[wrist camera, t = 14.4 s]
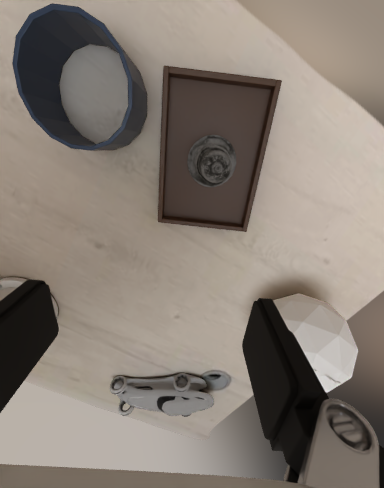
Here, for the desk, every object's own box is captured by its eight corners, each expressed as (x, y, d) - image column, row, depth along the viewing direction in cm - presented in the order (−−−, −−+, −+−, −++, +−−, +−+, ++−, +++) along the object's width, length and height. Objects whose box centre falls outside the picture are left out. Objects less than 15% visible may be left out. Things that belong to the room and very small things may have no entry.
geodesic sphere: (225, 355, 36) (302, 445, 26) (246, 291, 30) (357, 376, 20) (273, 324, 45) (345, 382, 35) (297, 269, 39) (392, 321, 29)
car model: (109, 374, 49) (100, 397, 44) (212, 371, 48) (213, 395, 43) (120, 401, 54) (113, 424, 49) (213, 399, 52) (215, 423, 48)
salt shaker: (212, 125, 26) (223, 109, 15) (240, 161, 28) (268, 171, 17) (179, 159, 28) (167, 166, 17) (207, 191, 30) (213, 217, 19)
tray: (159, 218, 32) (157, 222, 30) (166, 71, 24) (163, 65, 23) (243, 227, 32) (246, 231, 31) (275, 85, 25) (282, 80, 23)
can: (64, 144, 28) (28, 143, 22) (48, 34, 23) (-2, -4, 17) (146, 153, 28) (133, 155, 22) (147, 47, 23) (131, 13, 18)
